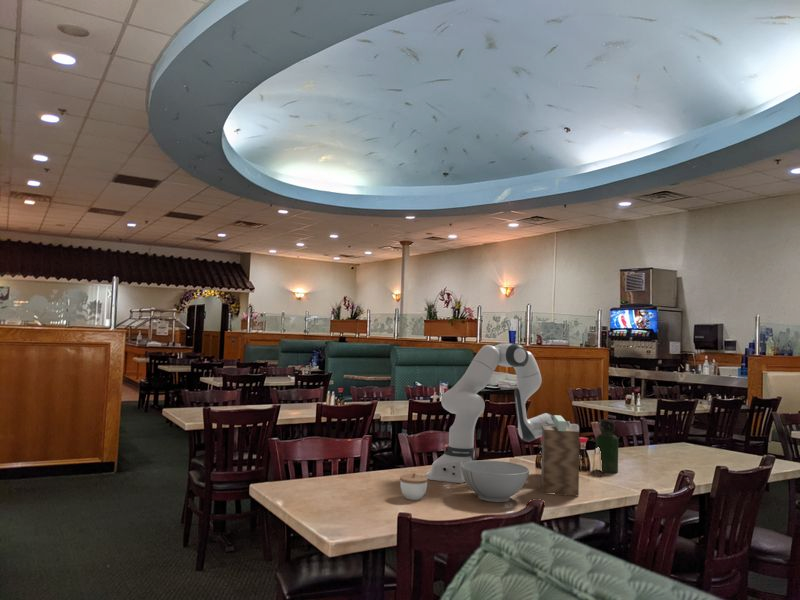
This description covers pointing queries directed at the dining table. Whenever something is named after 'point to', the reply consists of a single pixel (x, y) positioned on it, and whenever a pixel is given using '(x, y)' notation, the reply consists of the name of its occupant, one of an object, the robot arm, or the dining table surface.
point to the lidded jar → (413, 486)
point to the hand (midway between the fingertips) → (557, 422)
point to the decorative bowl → (494, 479)
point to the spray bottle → (608, 446)
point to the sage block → (559, 423)
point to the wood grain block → (560, 461)
